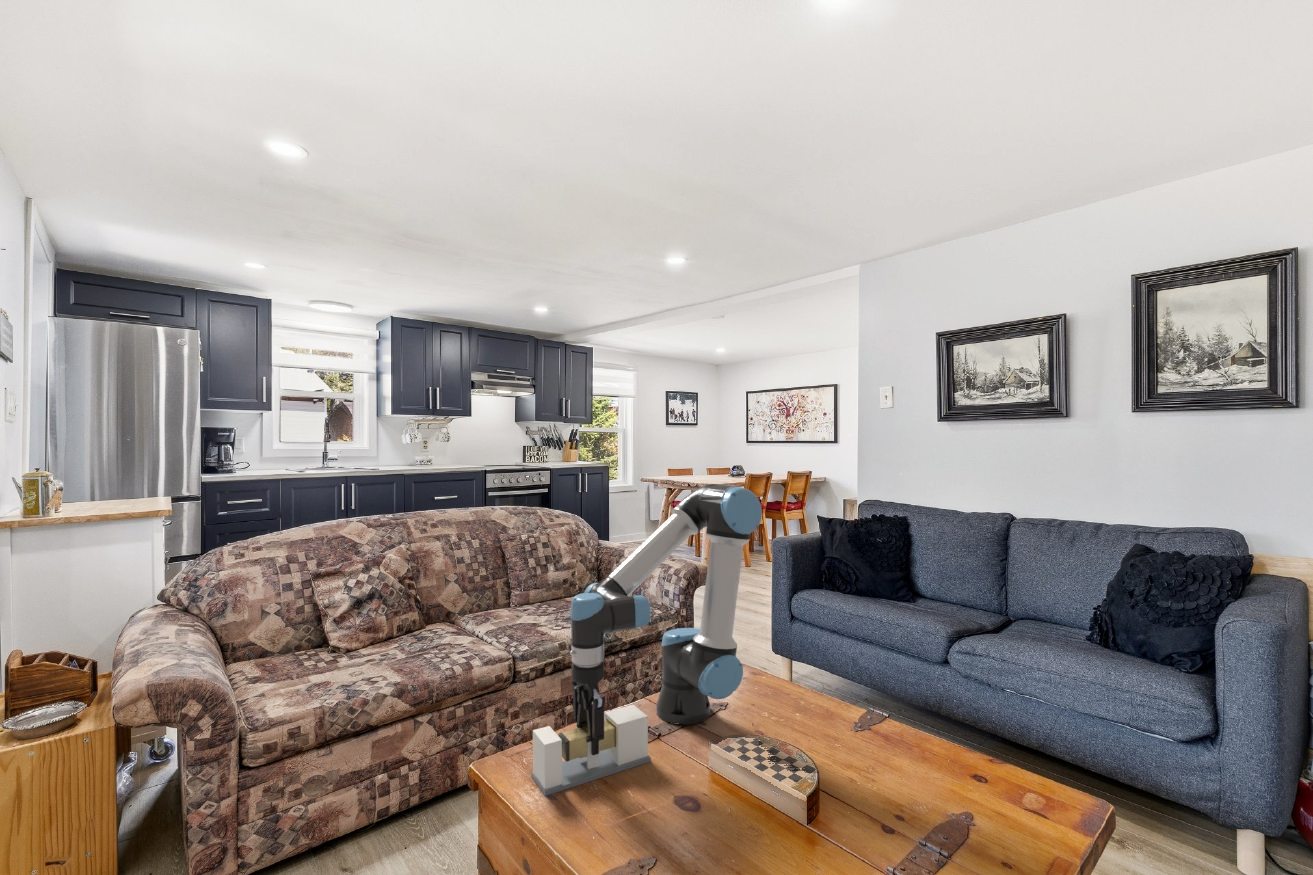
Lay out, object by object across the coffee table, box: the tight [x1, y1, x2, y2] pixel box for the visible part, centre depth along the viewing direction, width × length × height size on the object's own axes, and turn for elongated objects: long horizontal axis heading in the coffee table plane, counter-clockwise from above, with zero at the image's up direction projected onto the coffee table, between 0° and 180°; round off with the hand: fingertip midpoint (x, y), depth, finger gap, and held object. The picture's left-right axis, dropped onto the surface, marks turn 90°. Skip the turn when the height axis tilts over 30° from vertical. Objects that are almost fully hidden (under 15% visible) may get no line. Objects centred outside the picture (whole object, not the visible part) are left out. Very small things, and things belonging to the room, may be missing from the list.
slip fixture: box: [530, 704, 652, 797], centre depth 143 cm, size 26×9×11 cm, turn 121°
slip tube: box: [558, 720, 616, 762], centre depth 144 cm, size 18×4×4 cm, turn 121°
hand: (588, 761), depth 143 cm, fingers closed on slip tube, 4 cm apart
